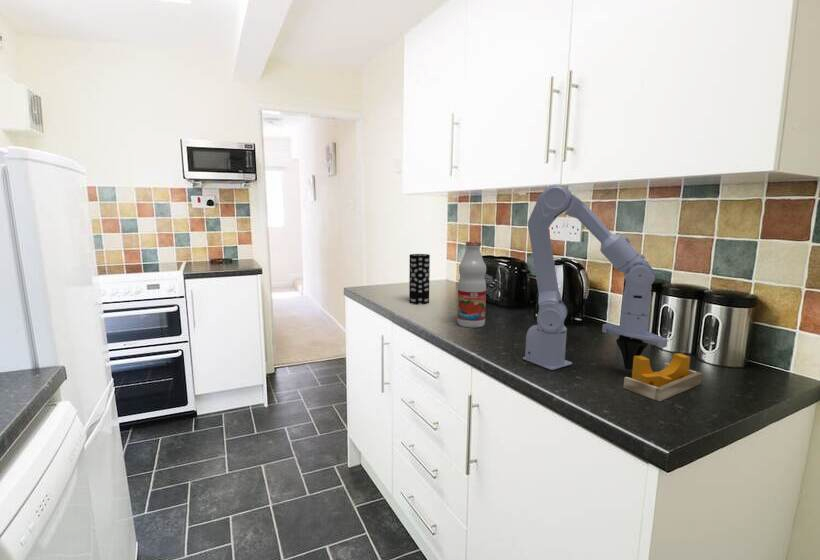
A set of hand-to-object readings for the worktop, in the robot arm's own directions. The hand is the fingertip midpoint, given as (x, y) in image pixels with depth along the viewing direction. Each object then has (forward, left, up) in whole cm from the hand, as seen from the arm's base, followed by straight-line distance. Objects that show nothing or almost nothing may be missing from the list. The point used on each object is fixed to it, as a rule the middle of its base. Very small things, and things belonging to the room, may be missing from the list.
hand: (629, 368), depth 101 cm
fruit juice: (-54, -3, -2) cm, 54 cm away
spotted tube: (-92, +1, -2) cm, 92 cm away
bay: (+8, 0, -2) cm, 8 cm away
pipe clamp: (+7, +1, -2) cm, 7 cm away
